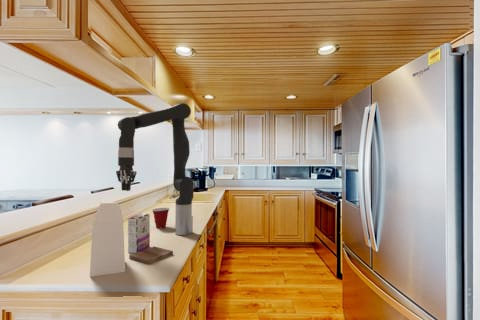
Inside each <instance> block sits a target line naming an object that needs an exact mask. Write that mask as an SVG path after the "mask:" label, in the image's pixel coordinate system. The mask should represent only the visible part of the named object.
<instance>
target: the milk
mask: <svg viewBox="0 0 480 320" xmlns="http://www.w3.org/2000/svg"><path fill="white" fill-rule="evenodd" d="M118 203H119V202H118V201H107V202H100V203H99V206H98V207H97V210H96V213H95V216H94V219H93V222H92V229H91V244H90V245H91V247H90V264H89V266H90V267H89V277H90V278H91V277H97V276H98V277H99V276H103V275H112V274H118V273H126V258H125V233H124V218H123V217H124V216H123V213H122V210H121V208H120V204H118Z"/></svg>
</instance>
